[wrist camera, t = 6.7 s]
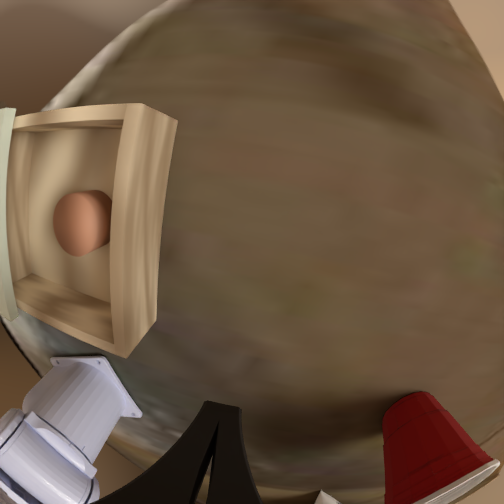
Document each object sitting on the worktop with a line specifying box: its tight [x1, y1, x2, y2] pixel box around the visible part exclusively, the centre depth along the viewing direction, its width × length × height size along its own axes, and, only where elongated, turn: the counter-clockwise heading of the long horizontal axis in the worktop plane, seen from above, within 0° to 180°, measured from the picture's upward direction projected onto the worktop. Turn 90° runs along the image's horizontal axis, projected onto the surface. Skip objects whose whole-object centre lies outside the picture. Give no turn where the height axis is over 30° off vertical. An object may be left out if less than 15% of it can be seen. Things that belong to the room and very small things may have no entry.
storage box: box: [6, 103, 178, 359], centre depth 15 cm, size 14×14×5 cm
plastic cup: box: [382, 392, 500, 504], centre depth 14 cm, size 11×11×12 cm
